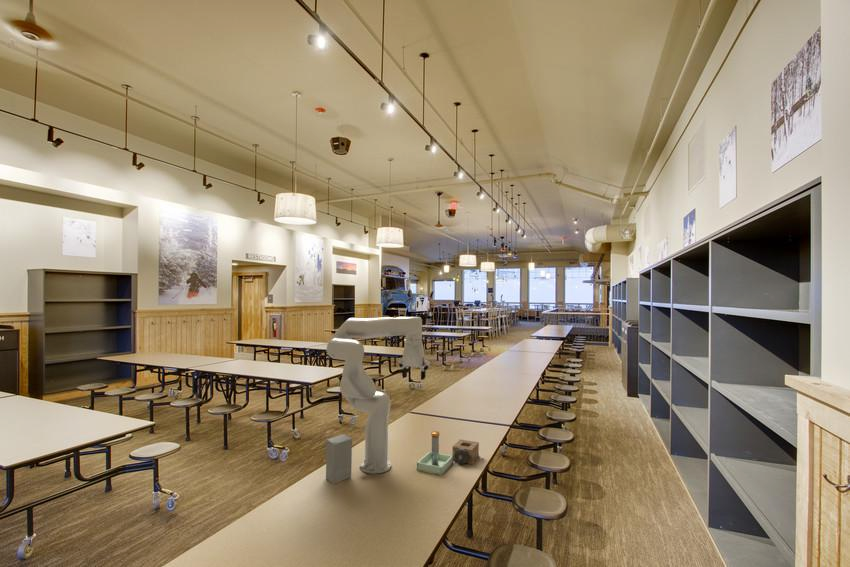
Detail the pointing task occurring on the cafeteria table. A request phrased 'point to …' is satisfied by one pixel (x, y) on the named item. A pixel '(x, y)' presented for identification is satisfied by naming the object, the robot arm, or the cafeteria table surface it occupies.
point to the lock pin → (435, 448)
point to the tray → (427, 466)
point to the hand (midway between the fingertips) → (413, 378)
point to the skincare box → (338, 458)
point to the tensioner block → (465, 451)
